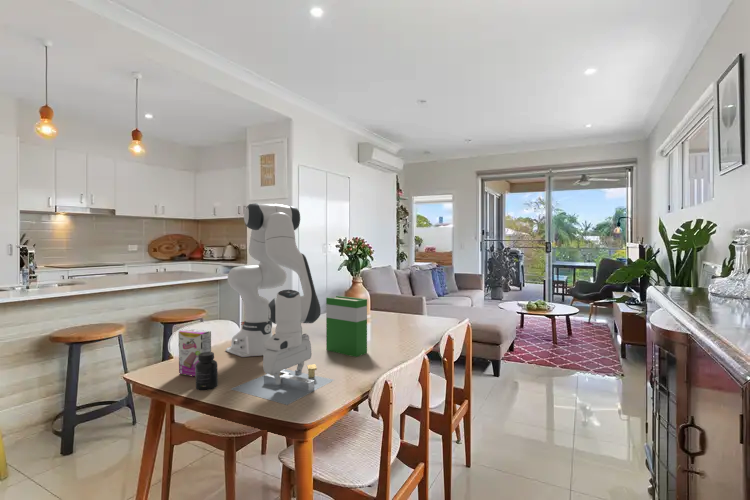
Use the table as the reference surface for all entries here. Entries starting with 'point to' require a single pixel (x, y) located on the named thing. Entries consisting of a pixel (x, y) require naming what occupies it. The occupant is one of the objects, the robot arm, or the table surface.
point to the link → (290, 382)
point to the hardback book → (346, 325)
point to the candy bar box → (192, 348)
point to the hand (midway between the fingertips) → (289, 379)
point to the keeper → (311, 370)
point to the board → (279, 389)
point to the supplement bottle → (206, 372)
